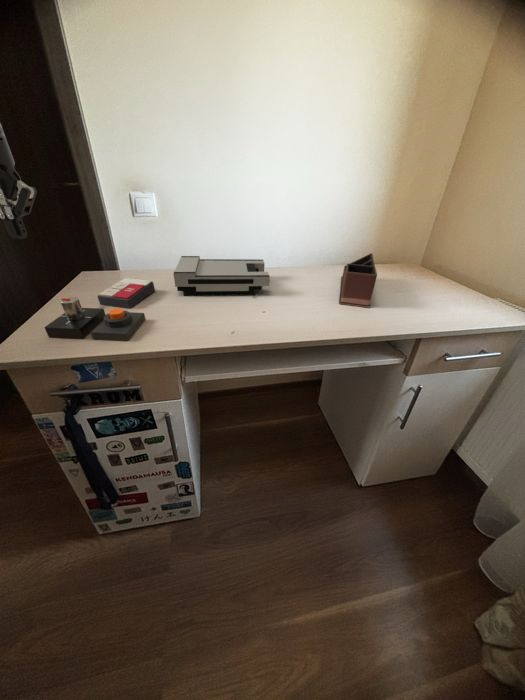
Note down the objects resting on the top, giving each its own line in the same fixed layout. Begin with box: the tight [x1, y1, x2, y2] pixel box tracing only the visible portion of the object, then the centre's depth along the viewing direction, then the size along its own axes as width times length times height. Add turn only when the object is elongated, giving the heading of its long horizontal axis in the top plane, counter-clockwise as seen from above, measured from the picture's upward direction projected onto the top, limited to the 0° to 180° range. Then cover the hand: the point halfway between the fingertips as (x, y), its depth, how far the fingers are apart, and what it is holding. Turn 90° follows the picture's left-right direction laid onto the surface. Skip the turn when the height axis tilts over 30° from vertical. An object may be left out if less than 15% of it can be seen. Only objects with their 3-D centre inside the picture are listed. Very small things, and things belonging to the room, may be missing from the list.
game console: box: [173, 255, 271, 297], centre depth 105 cm, size 21×32×8 cm, turn 96°
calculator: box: [96, 277, 156, 309], centre depth 94 cm, size 11×4×15 cm
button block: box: [90, 310, 146, 342], centre depth 76 cm, size 12×9×4 cm
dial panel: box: [44, 307, 106, 340], centre depth 76 cm, size 12×9×3 cm
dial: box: [60, 296, 84, 321], centre depth 74 cm, size 4×4×5 cm
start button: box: [108, 308, 125, 320], centre depth 75 cm, size 4×4×2 cm
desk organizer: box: [338, 252, 378, 309], centre depth 104 cm, size 10×29×11 cm, turn 165°
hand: (20, 238), depth 58 cm, fingers closed
